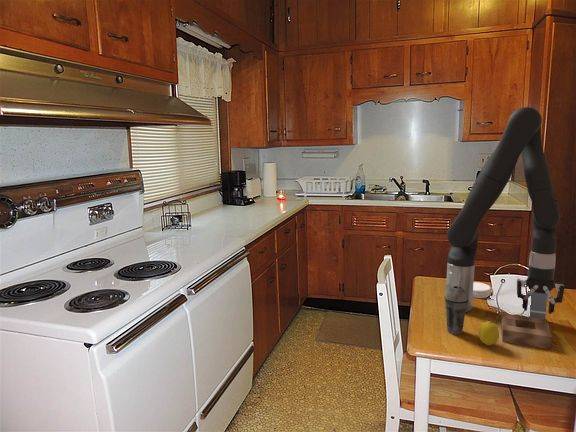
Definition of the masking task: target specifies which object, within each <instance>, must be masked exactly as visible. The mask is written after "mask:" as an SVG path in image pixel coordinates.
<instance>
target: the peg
mask: <svg viewBox="0 0 576 432" xmlns="http://www.w3.org/2000/svg"><path fill="white" fill-rule="evenodd" d="M547 304H548V294H546V293H540V292H532V295H531V305H530V304H529V305H530V316H529V315H528V317H533V318H541V319H546V316H547V307H548V305H547Z"/></svg>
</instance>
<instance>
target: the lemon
mask: <svg viewBox="0 0 576 432" xmlns="http://www.w3.org/2000/svg"><path fill="white" fill-rule="evenodd" d="M478 331H479V332H478V336H479V339H480V341H481V342H482V343H483V344H485V345H486V346H487V347H490V346H493V345H495V344H497V342H498V340H499V339H500V331H499V327H498V326H497V325H496V324H495V323H493V322H492V321H490V320H489V321H485V322H483V323H481V324H480V327H479V330H478Z"/></svg>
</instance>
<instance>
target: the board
mask: <svg viewBox="0 0 576 432" xmlns="http://www.w3.org/2000/svg"><path fill="white" fill-rule="evenodd" d="M500 329H501V342H502V343H503V342H504V343H510V344H515V345H520V346H521V345H522V346H528V347H534V348H540V349H547V350H551V349H552V340H553V336H552V333H551V329H550V326H549V322H548V319H547V318H545V319H541V318H533V317H529V316H525V315H518V314H510V313H504V312H502V313H501V322H500Z"/></svg>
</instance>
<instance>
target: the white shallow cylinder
mask: <svg viewBox="0 0 576 432" xmlns="http://www.w3.org/2000/svg"><path fill="white" fill-rule="evenodd" d="M491 292H492V287H491V285H489V284H486V283H483V282H478V281H474V283H473V298H476V299H487V297H488V296H489V295H490V296H491V295H492V293H491ZM488 298H489V297H488Z"/></svg>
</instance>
